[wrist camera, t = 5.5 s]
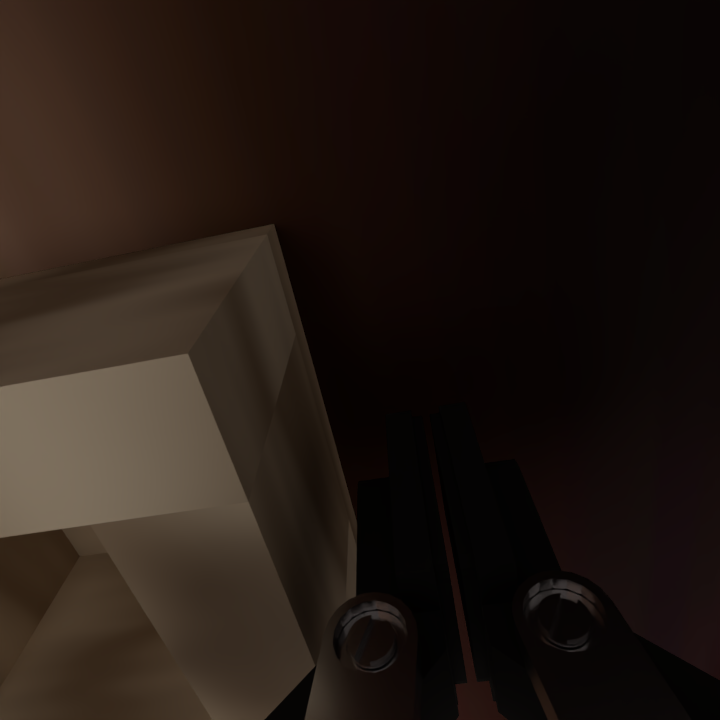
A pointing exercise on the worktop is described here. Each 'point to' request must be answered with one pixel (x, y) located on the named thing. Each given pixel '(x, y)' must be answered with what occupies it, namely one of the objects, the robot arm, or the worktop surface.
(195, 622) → the socket block
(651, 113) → the worktop surface
